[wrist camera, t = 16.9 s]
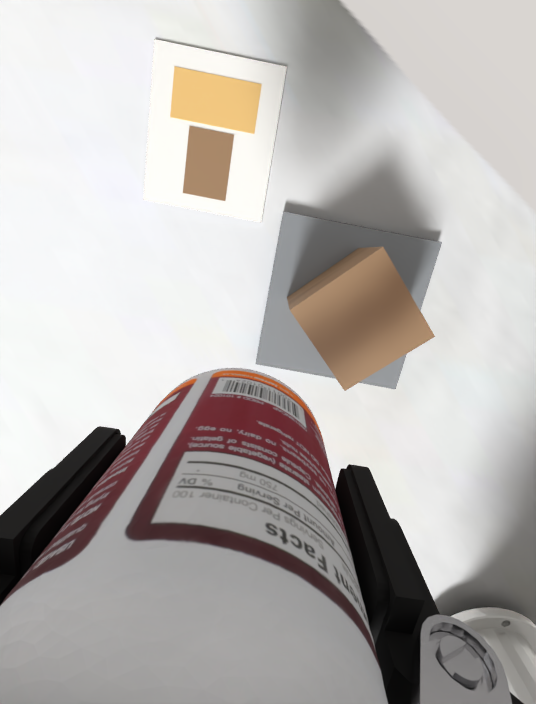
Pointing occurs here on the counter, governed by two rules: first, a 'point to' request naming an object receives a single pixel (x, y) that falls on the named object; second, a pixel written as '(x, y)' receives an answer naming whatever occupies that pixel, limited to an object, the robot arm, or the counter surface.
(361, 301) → the walnut block
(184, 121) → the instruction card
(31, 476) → the counter surface
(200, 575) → the pill bottle
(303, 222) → the slate plate
